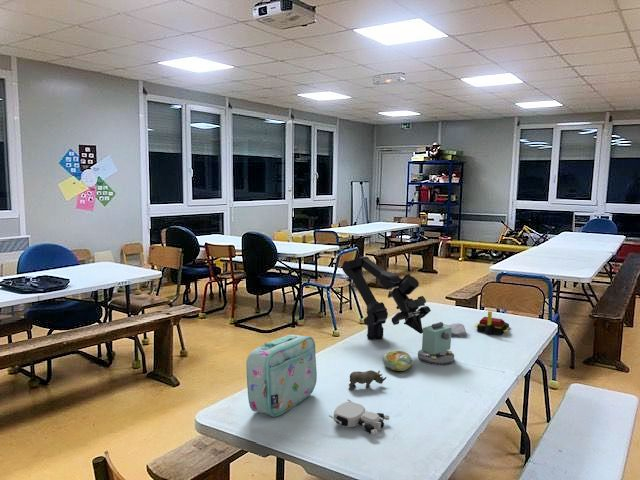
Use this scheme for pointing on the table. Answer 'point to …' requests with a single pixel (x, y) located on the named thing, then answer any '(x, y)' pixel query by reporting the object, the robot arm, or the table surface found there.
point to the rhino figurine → (365, 378)
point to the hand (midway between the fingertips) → (421, 333)
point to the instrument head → (436, 338)
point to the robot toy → (358, 417)
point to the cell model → (397, 360)
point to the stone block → (457, 330)
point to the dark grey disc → (436, 357)
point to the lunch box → (281, 374)
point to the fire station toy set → (492, 325)
